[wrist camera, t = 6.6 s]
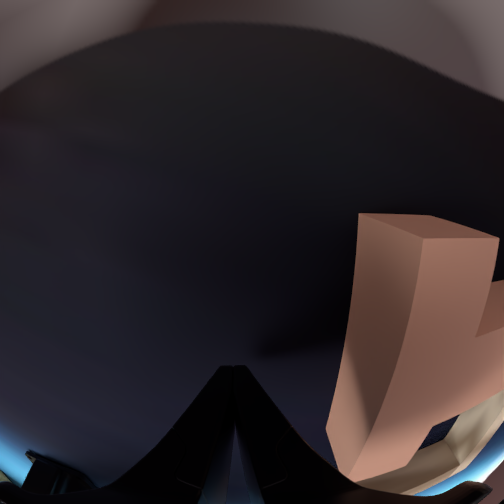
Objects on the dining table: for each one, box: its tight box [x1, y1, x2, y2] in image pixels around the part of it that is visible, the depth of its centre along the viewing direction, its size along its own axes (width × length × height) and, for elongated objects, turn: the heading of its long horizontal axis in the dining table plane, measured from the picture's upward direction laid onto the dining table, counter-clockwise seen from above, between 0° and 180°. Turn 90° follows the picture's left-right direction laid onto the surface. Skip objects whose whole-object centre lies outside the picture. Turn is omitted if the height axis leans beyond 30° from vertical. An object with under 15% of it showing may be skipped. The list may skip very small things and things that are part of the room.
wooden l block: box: [355, 389, 504, 495], centre depth 9 cm, size 20×13×3 cm, turn 1°
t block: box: [326, 213, 504, 482], centre depth 8 cm, size 10×10×4 cm
